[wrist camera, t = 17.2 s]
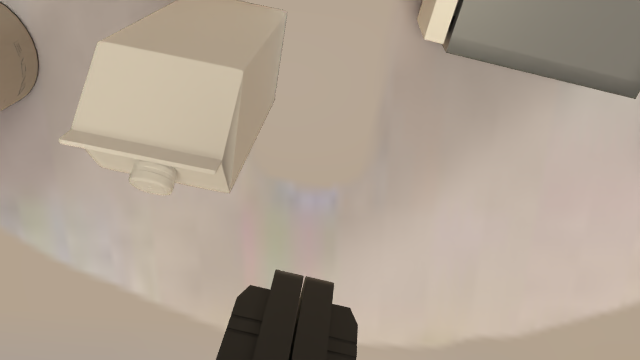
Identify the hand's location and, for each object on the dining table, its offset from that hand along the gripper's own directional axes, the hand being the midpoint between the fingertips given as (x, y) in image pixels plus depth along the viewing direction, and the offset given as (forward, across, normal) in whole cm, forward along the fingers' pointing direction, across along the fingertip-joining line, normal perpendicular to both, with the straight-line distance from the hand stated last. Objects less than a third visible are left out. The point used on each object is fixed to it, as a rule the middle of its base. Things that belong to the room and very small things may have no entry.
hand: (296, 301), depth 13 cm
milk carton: (+29, +8, +3) cm, 30 cm away
